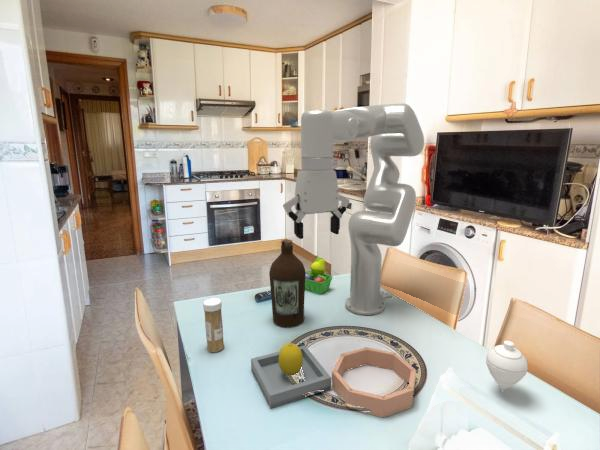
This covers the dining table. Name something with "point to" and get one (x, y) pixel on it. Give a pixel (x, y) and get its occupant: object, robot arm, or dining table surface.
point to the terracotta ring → (374, 402)
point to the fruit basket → (317, 277)
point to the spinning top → (506, 365)
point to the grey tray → (278, 384)
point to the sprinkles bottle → (213, 324)
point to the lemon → (290, 359)
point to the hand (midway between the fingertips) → (317, 235)
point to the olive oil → (287, 287)
